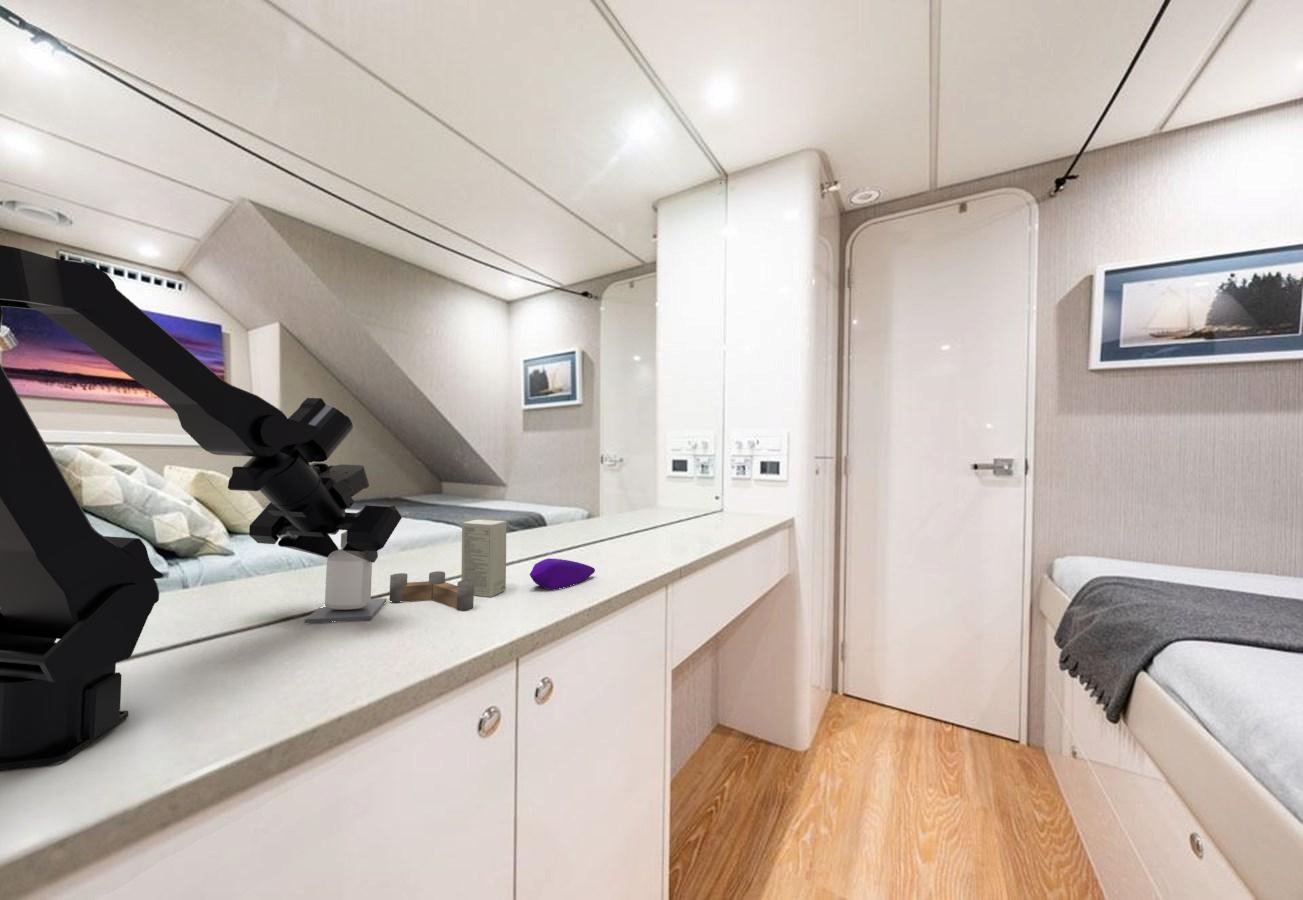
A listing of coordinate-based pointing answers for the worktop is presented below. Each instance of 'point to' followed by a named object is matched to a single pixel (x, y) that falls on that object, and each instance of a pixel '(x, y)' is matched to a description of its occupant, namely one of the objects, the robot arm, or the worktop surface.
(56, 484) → the robot arm
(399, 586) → the rail
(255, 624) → the worktop surface
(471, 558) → the skincare box
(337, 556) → the eye dropper bottle
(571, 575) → the purple faceted pebble
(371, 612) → the coaster
